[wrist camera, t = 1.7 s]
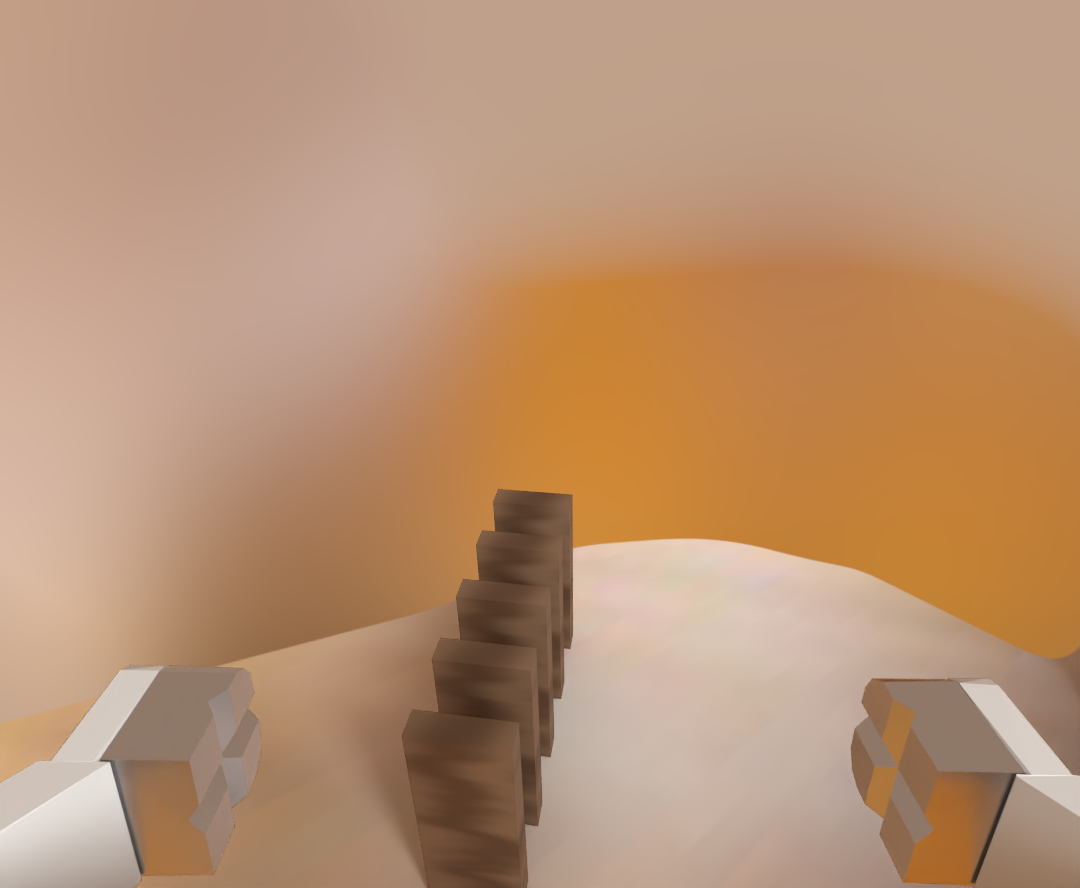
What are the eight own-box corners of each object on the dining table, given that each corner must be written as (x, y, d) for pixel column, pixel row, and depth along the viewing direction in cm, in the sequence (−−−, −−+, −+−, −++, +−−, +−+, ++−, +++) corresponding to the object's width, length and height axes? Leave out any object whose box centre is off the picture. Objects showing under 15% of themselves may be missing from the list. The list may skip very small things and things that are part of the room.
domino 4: (542, 802, 53) (536, 648, 45) (537, 826, 51) (531, 670, 44) (459, 790, 54) (440, 637, 46) (453, 813, 52) (431, 659, 45)
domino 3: (554, 737, 57) (550, 587, 50) (550, 757, 56) (546, 605, 48) (478, 727, 58) (463, 579, 51) (472, 746, 57) (456, 596, 49)
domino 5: (528, 880, 48) (518, 722, 40) (522, 908, 47) (512, 751, 39) (437, 865, 49) (412, 709, 41) (429, 893, 47) (401, 736, 40)
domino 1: (572, 634, 67) (572, 494, 59) (570, 648, 65) (569, 507, 58) (507, 627, 68) (498, 489, 60) (502, 641, 66) (493, 502, 59)
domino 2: (564, 681, 62) (562, 537, 54) (561, 698, 61) (558, 552, 53) (493, 673, 63) (482, 530, 55) (488, 690, 61) (476, 545, 54)
